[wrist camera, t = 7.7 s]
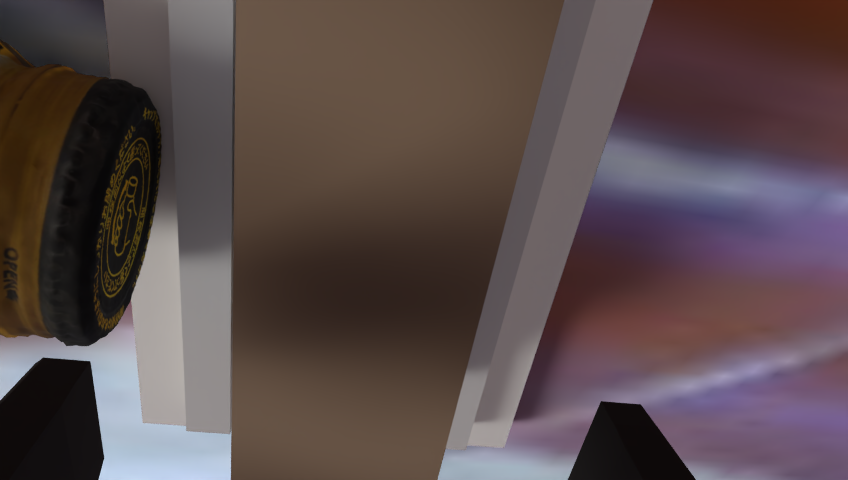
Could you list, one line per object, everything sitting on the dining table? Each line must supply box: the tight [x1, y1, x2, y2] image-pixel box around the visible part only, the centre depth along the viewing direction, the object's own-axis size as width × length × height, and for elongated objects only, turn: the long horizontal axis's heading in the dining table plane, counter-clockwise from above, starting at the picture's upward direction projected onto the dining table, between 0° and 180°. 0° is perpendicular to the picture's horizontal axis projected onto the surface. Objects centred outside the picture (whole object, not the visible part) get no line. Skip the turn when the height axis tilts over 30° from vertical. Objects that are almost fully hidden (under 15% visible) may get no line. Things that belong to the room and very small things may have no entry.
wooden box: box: [231, 0, 564, 480], centre depth 15 cm, size 12×4×6 cm, turn 171°
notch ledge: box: [103, 0, 653, 450], centre depth 17 cm, size 20×11×2 cm, turn 171°
